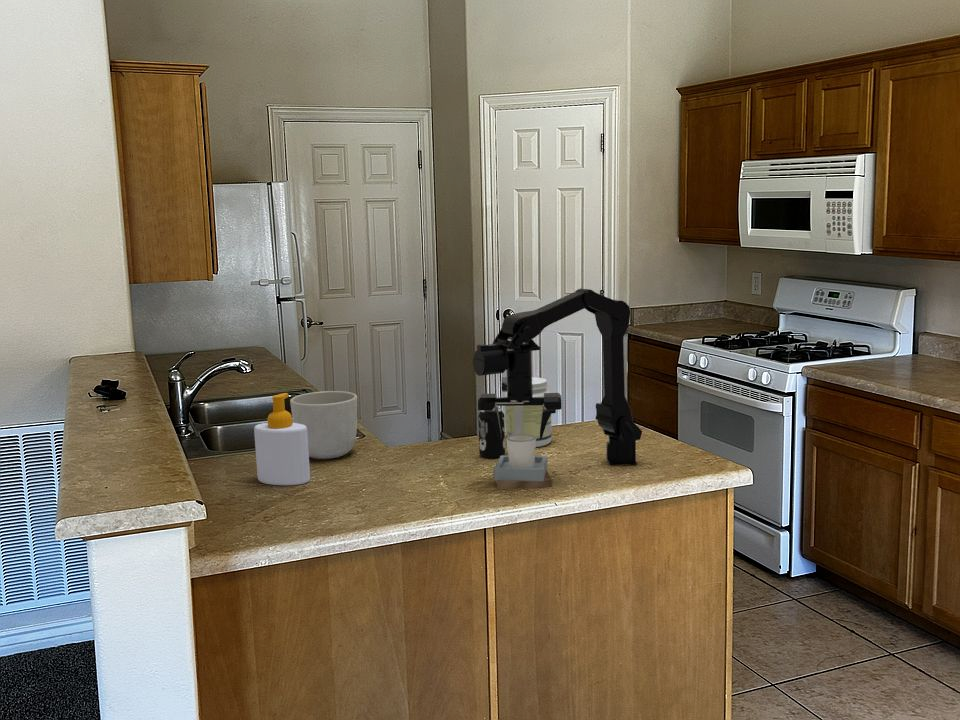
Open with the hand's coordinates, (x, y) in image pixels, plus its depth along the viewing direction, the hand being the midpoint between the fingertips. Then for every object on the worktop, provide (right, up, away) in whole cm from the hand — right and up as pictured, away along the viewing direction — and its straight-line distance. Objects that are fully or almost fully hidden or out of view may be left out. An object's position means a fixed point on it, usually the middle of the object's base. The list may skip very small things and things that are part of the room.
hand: (520, 438), depth 203 cm
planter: (-49, -7, +28) cm, 57 cm away
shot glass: (0, -7, +1) cm, 7 cm away
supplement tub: (+4, -4, +34) cm, 35 cm away
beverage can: (-6, -7, +23) cm, 25 cm away
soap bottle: (-55, -11, +7) cm, 57 cm away
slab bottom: (0, -11, +2) cm, 11 cm away
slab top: (0, -8, +1) cm, 8 cm away
